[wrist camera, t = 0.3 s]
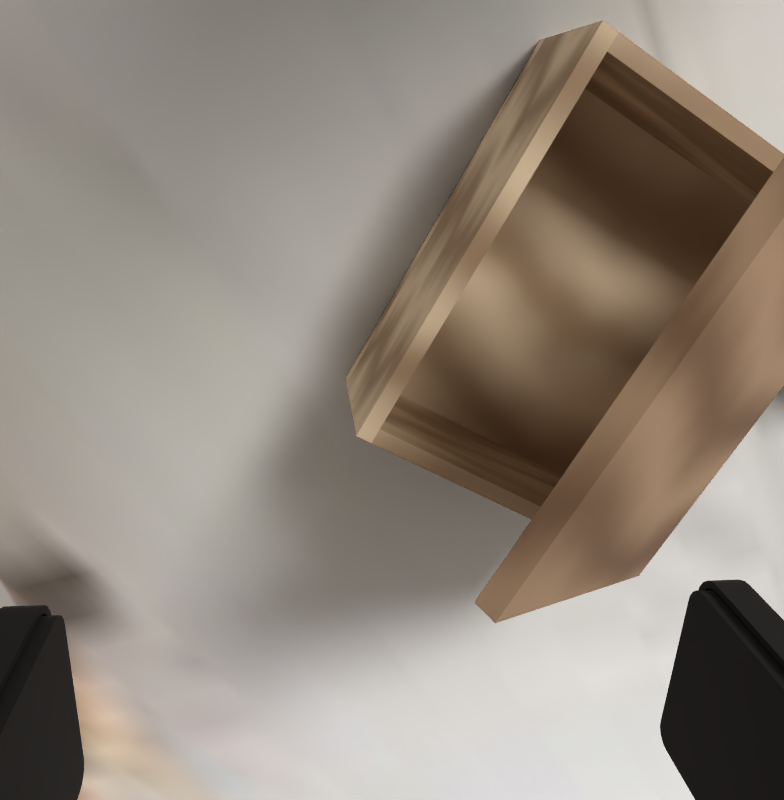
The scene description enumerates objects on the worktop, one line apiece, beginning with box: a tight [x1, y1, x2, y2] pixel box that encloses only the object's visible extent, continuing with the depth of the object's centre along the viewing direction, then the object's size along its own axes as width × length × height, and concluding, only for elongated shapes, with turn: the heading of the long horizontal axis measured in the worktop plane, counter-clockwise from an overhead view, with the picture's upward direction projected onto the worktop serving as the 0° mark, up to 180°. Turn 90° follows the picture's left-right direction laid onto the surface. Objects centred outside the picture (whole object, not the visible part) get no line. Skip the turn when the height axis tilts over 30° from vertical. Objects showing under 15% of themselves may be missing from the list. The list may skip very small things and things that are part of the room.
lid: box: [475, 158, 784, 623], centre depth 29 cm, size 20×16×1 cm
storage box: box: [345, 21, 784, 519], centre depth 37 cm, size 20×16×8 cm
